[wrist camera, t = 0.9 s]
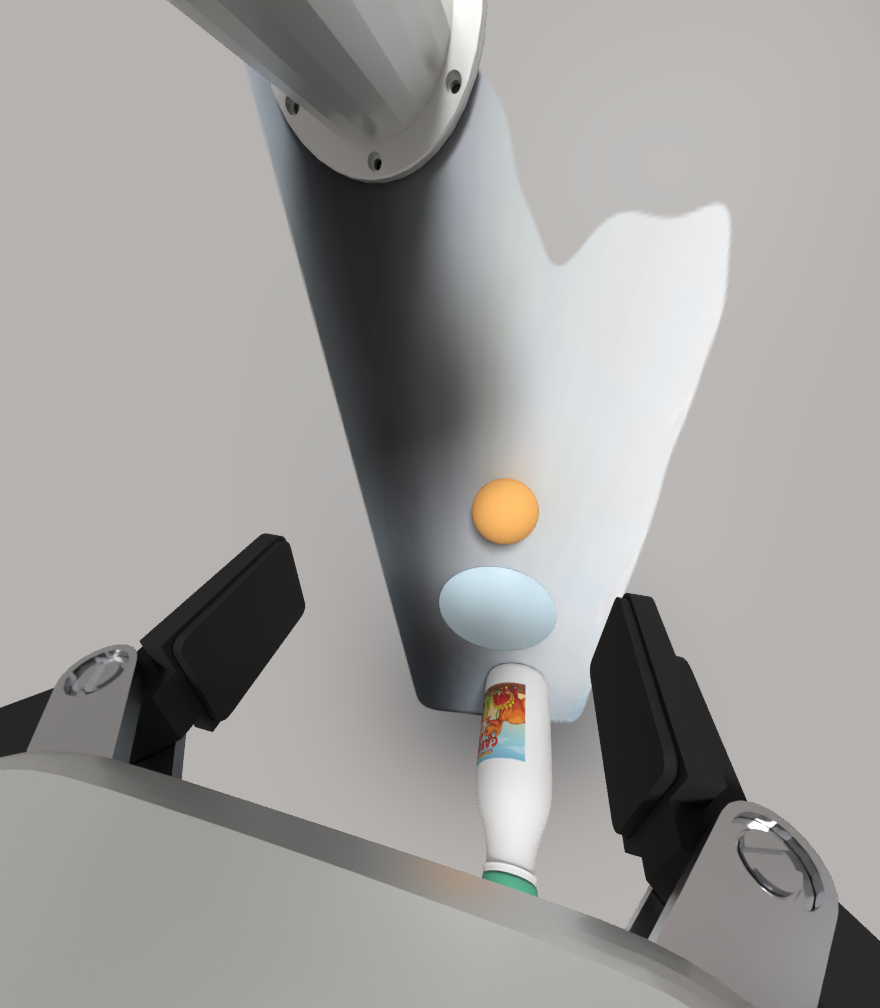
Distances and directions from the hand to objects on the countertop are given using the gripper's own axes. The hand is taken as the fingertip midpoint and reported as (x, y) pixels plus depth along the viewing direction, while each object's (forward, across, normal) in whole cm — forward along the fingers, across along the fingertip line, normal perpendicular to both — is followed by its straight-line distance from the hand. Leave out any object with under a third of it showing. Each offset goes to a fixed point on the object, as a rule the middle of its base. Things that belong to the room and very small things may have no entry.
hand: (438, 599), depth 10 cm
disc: (+21, -2, +23) cm, 31 cm away
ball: (+18, -2, +8) cm, 20 cm away
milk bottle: (+22, -6, +35) cm, 41 cm away
